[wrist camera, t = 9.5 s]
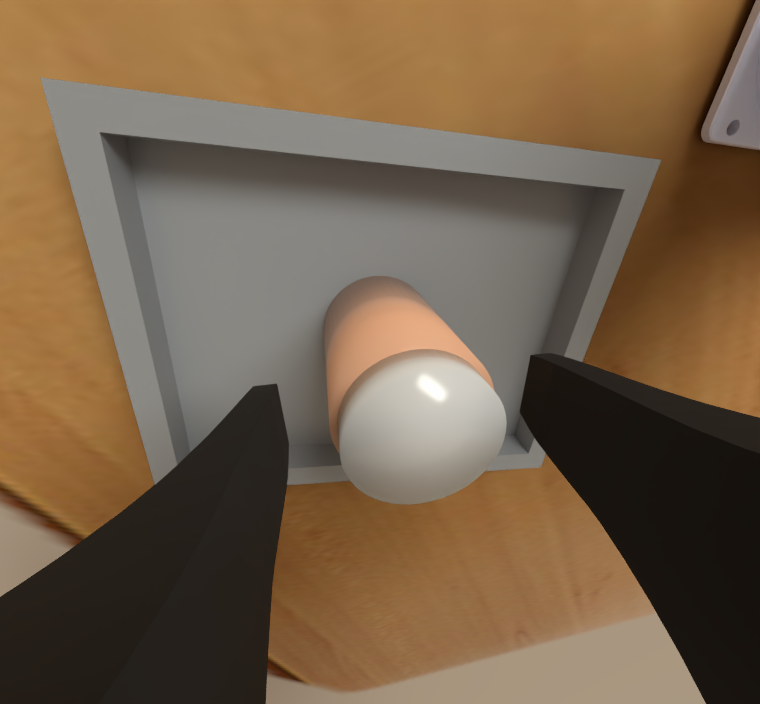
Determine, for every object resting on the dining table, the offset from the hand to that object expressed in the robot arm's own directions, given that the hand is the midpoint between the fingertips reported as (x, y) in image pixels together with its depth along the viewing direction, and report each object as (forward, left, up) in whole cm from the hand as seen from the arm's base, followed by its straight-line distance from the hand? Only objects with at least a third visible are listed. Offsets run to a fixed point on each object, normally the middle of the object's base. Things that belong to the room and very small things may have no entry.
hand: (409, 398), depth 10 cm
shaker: (0, 0, -5) cm, 5 cm away
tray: (0, 0, -6) cm, 6 cm away
